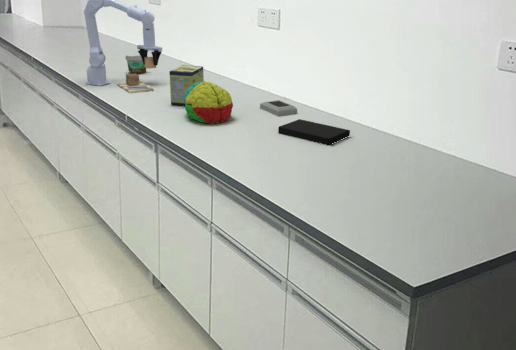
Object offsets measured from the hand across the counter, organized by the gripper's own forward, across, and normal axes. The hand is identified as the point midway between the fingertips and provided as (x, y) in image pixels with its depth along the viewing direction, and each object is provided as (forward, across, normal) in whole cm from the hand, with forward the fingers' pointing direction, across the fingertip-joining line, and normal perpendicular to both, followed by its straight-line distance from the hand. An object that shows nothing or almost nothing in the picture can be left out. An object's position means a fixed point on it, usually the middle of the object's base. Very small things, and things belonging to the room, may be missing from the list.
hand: (150, 64), depth 304 cm
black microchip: (+10, +108, -37) cm, 114 cm away
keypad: (+11, +80, -13) cm, 82 cm away
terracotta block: (+1, 0, 0) cm, 1 cm away
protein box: (+10, +38, -21) cm, 44 cm away
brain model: (+10, +59, -38) cm, 71 cm away
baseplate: (+10, -2, -11) cm, 15 cm away
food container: (+10, -23, +17) cm, 30 cm away
